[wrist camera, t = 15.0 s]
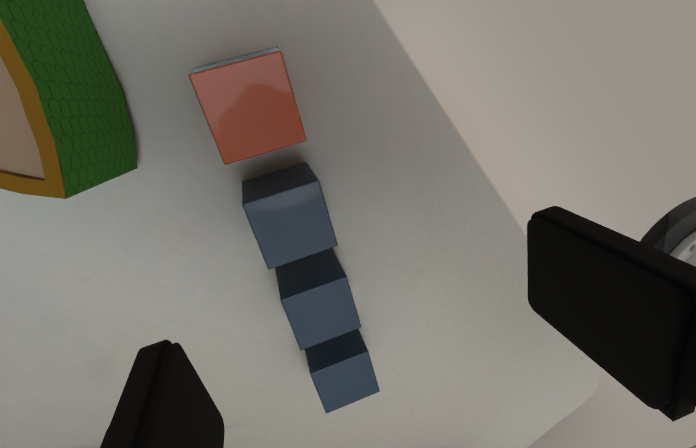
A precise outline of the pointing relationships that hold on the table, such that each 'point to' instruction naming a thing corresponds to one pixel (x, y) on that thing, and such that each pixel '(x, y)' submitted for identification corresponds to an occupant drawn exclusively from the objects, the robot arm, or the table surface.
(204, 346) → the table surface
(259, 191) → the row of slate cubes
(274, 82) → the orange-red cube
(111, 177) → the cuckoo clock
